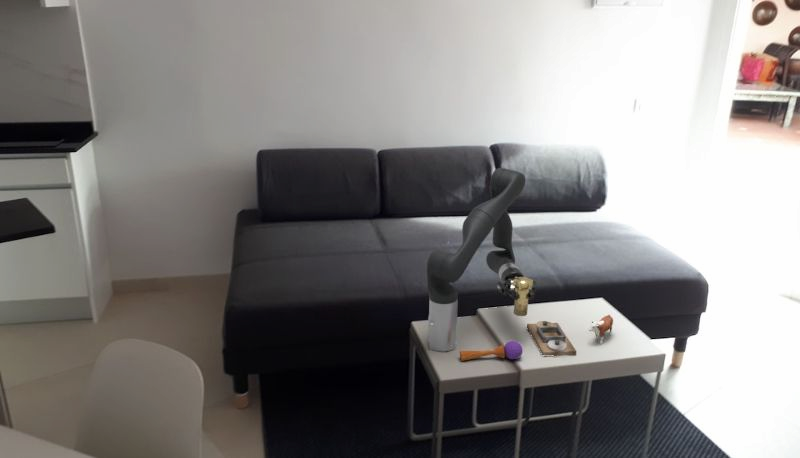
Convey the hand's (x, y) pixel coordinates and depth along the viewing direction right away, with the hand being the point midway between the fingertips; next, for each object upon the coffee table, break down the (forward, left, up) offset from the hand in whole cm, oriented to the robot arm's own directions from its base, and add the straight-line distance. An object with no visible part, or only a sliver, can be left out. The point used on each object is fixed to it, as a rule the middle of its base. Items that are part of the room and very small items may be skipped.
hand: (524, 297), depth 205 cm
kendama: (-12, -7, -18) cm, 23 cm away
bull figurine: (+28, +2, -18) cm, 34 cm away
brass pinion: (0, +3, -7) cm, 8 cm away
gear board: (+11, +3, -18) cm, 21 cm away
